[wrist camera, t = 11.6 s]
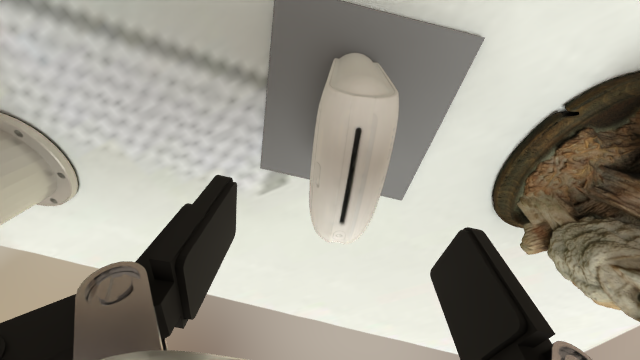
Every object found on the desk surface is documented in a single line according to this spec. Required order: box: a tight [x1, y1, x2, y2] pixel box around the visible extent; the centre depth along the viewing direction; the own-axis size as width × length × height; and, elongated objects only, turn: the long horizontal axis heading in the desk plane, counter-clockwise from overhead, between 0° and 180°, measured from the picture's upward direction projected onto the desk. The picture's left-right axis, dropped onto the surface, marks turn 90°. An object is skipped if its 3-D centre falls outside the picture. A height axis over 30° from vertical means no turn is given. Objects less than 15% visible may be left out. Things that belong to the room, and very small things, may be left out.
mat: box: [260, 0, 485, 200], centre depth 23 cm, size 16×16×1 cm
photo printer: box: [309, 53, 399, 244], centre depth 17 cm, size 10×4×12 cm, turn 175°
